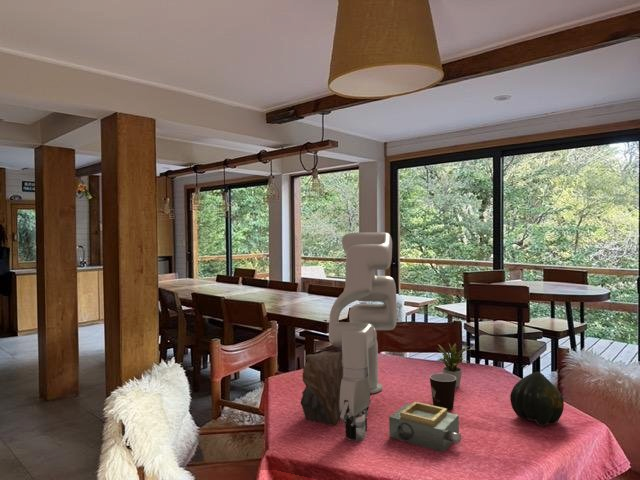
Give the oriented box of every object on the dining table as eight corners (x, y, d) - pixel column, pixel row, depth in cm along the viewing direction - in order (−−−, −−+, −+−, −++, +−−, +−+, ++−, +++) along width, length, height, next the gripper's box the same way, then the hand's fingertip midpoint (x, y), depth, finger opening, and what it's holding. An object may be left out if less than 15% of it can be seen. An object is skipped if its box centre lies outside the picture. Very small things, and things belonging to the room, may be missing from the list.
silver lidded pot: (343, 438, 132) (343, 411, 131) (353, 431, 136) (353, 405, 136) (359, 443, 129) (359, 415, 128) (368, 435, 133) (368, 409, 133)
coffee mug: (457, 413, 148) (457, 382, 148) (430, 411, 150) (430, 380, 149) (454, 399, 159) (454, 371, 159) (429, 398, 161) (428, 370, 161)
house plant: (479, 393, 165) (479, 347, 165) (441, 393, 165) (440, 348, 165) (467, 379, 179) (467, 338, 179) (432, 380, 180) (431, 338, 179)
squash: (526, 415, 132) (553, 372, 135) (493, 399, 146) (518, 360, 149) (558, 443, 135) (584, 400, 137) (522, 424, 149) (547, 386, 152)
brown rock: (299, 420, 145) (298, 357, 144) (316, 405, 156) (315, 347, 156) (336, 426, 140) (335, 361, 139) (351, 410, 151) (350, 350, 151)
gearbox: (388, 438, 131) (388, 412, 131) (407, 422, 141) (407, 398, 141) (453, 456, 120) (453, 428, 120) (469, 438, 130) (469, 412, 130)
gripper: (359, 362, 141) (360, 420, 141) (327, 377, 127) (328, 442, 127) (381, 366, 136) (382, 426, 137) (350, 382, 123) (351, 449, 123)
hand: (356, 433), depth 132 cm, fingers closed on silver lidded pot, 5 cm apart
